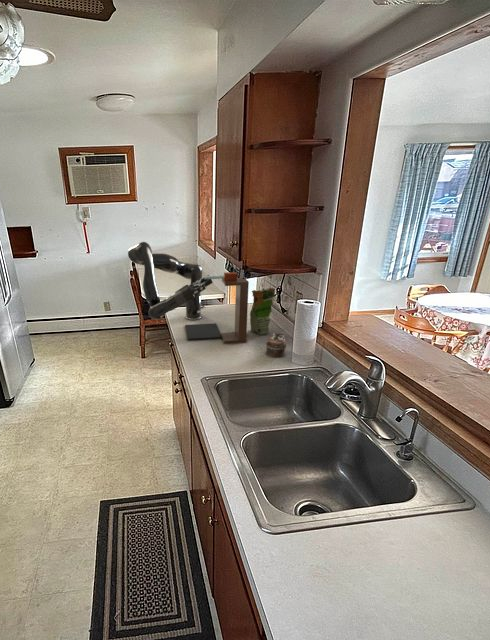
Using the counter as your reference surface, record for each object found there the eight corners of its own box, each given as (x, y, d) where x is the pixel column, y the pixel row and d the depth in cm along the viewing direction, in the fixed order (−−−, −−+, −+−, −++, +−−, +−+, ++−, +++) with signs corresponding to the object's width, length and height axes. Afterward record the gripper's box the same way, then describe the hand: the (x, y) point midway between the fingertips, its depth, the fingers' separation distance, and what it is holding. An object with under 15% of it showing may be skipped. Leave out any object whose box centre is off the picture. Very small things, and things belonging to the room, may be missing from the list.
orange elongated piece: (204, 280, 197) (204, 273, 196) (235, 278, 197) (235, 272, 196) (205, 281, 194) (205, 275, 192) (237, 280, 194) (237, 273, 193)
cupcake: (266, 349, 195) (267, 330, 191) (286, 350, 192) (287, 331, 188) (264, 356, 187) (265, 337, 183) (284, 358, 184) (286, 339, 180)
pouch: (272, 329, 220) (276, 285, 209) (268, 336, 210) (271, 291, 199) (253, 327, 224) (255, 284, 213) (247, 334, 214) (249, 289, 204)
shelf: (220, 335, 215) (221, 277, 201) (241, 334, 215) (243, 276, 201) (224, 343, 204) (225, 283, 190) (246, 342, 204) (248, 281, 190)
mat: (185, 326, 230) (185, 324, 229) (215, 324, 230) (215, 323, 230) (188, 340, 210) (188, 338, 209) (221, 338, 210) (221, 336, 210)
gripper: (180, 293, 190) (208, 275, 187) (178, 286, 203) (205, 269, 200) (188, 305, 193) (216, 288, 190) (186, 297, 206) (212, 281, 203)
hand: (210, 278), depth 195 cm, fingers open, 8 cm apart
